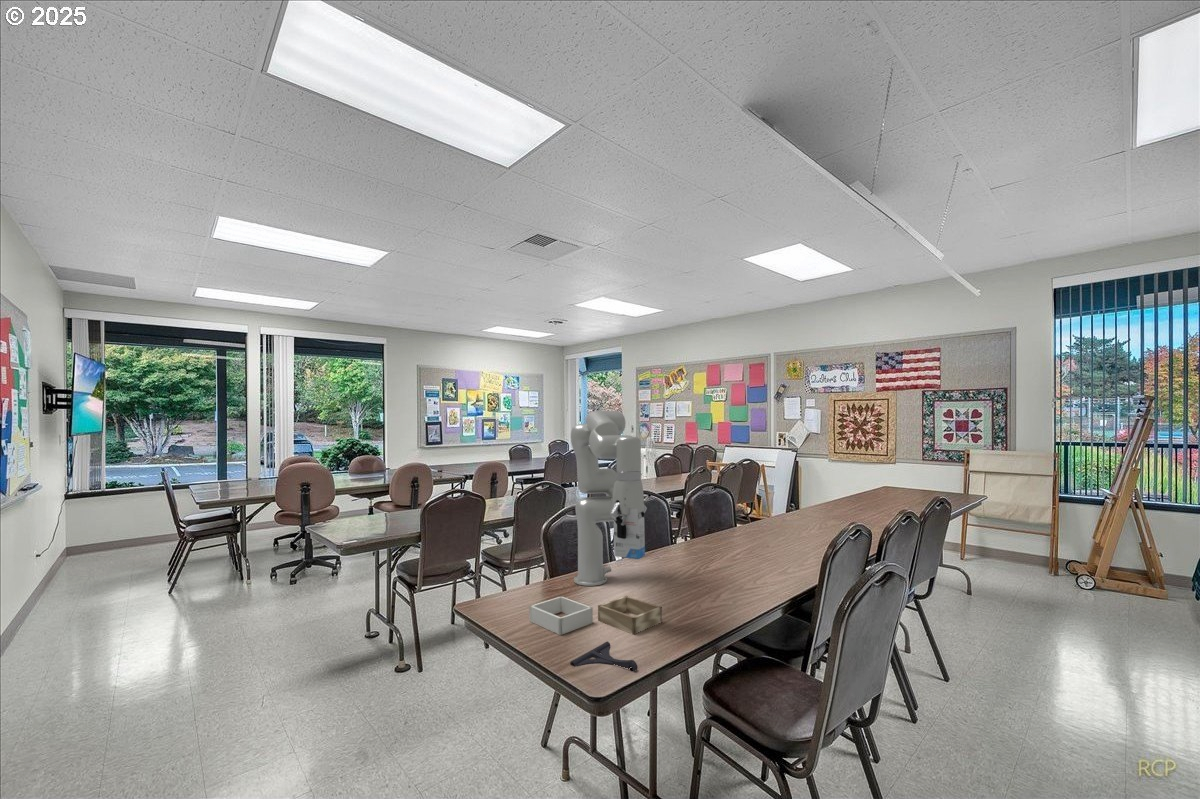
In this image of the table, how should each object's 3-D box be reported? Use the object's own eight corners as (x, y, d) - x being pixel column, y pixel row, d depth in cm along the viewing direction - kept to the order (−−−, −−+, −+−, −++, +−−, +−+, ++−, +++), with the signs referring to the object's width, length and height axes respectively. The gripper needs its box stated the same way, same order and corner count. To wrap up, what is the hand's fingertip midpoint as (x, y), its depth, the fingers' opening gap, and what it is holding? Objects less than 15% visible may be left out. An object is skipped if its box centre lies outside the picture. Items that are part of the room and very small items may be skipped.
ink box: (645, 556, 154) (645, 507, 155) (639, 559, 150) (638, 509, 151) (620, 552, 158) (620, 505, 159) (613, 556, 154) (613, 507, 155)
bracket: (618, 686, 116) (618, 673, 116) (569, 667, 126) (570, 655, 126) (652, 663, 128) (652, 652, 128) (605, 647, 137) (605, 636, 137)
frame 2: (626, 610, 163) (626, 595, 163) (662, 622, 152) (661, 607, 152) (598, 620, 154) (598, 605, 154) (634, 634, 143) (633, 618, 144)
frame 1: (561, 610, 162) (561, 596, 163) (592, 622, 152) (592, 607, 152) (529, 621, 154) (529, 606, 154) (560, 635, 143) (560, 618, 143)
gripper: (638, 474, 164) (638, 530, 163) (600, 478, 152) (600, 538, 151) (656, 475, 159) (656, 533, 158) (618, 479, 147) (618, 542, 146)
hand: (629, 535), depth 154 cm, fingers closed on ink box, 6 cm apart
